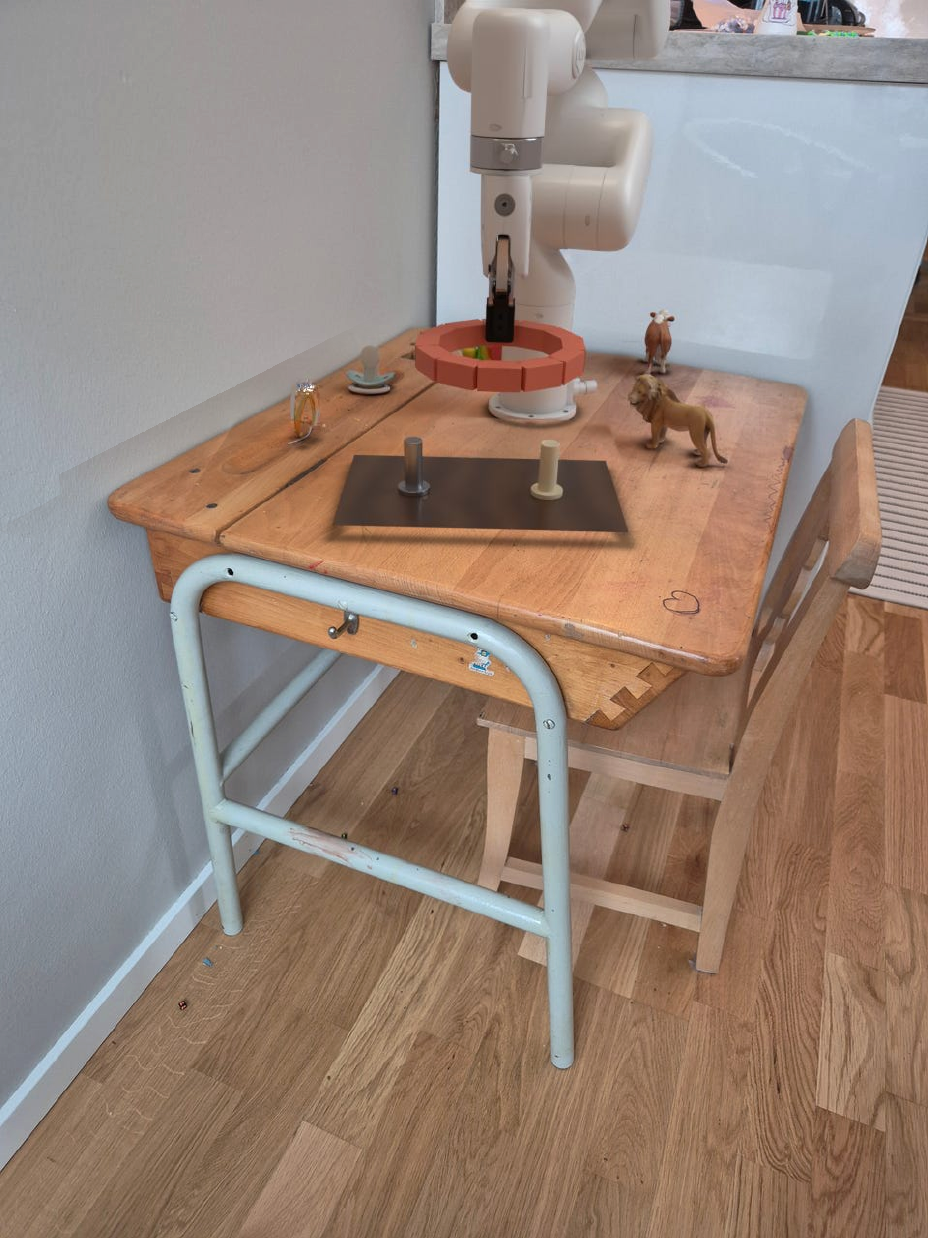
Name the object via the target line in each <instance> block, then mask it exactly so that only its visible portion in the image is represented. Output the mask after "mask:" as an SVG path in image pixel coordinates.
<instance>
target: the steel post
mask: <svg viewBox="0 0 928 1238" xmlns="http://www.w3.org/2000/svg"><path fill="white" fill-rule="evenodd" d="M423 445H424V444H423V439H422V437H418V436H408V437H406V438H404V440H403V449H404V450H403V451H404V452H403V453H404V455H403V456H404V457H405V481H402V482H400V483H399V484H398V492H399V493H400V494H402V495H404V496H408V497H420V496H424V495H426V494H428V493H429V491H430V485H429V483H428V482H426V481H423V456H424V454H423V452H424V449H423Z"/></svg>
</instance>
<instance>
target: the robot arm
mask: <svg viewBox="0 0 928 1238" xmlns="http://www.w3.org/2000/svg"><path fill="white" fill-rule="evenodd" d="M671 14H672V13H671V0H464V2H463V3H462V4H461V6H460V7H459V9H458V10H457V12H456V13H455V15H454V18H453V20H452V22H451V25H450V28H449V32H448V36H447V41H446V64H447V68H448V73H449V75H450V77H451V79H452V81H453V82H454V84H455V85H456V86H457V87H458V88H459V89H460V90H462V91H464V92H466V93H469V94H470V130H469V131H470V134H469V135H470V137H469V172H470V173H472V174H477V175H480V247H481V251H480V252H481V263H482V274H483V276H484V277H485V278H487V279H488V296H487V297H486V304H485V319H486V331H485V340H486V341H487V342H499V343H511V342H513V340H514V323H515V320H520V322H521V321H523V320H525V321H531V322H536V323H542V324H548V325H553V326H557V327H561V328H563V329H565V330H567V331H569V332H572V333H573V324H574V314H575V301H576V291H577V288H576V280H575V277H574V274H573V272H572V269H571V267H570V266H569V264H568V262H567V260H566V259H565V257H564V255H563V254H562V252H561V250H578V251H591V252H618V251H622V250H624V249H625V248H626V247H627V246H628V245H629V244H630V243H631V241H632V239H633V237H634V235H635V232H636V230H637V227H638V223H639V219H640V215H641V212H642V211H641V209H642V207H643V203H644V197H645V193H646V190H647V184H648V181H649V176H650V171H651V169H652V160H653V156H654V143H655V141H654V130H653V126H652V125H653V124H652V122H651V120H650V118H649V117H648V116H647V115H646V113H644V112H642V111H640V110H638V109H633V108H627V107H625V108H623V107H609V95H608V92H607V89H606V87H605V85H604V83H603V81H602V79H600V77H599V75H598V74H597V72H596V71H595V70H594V69H593V68H592V66H591V65H590V64H588V62H587V60H589V61H591V60H592V61H630V62H634V61H635V62H639V61H641V62H642V61H648V60H652V59H654V58H655V57H657V56H658V55H659V54H660V53H661V52H662V50H663V49H664V47H665V44H666V42H667V39H668V37H669V32H670V26H671ZM547 356H549V355H547V354H545V353H544V352H540V351H535V350H530V349H525V348H519V347H509V346H502V359H501V361H521V360H528V359H535V358H541V357H547ZM597 392H598V383H597V381H596V380H595V379H592V380H591V379H590V380H584V381H581V379H580V378H579V377H577V378H575V379H573V380H572V381H570V382H569V383H567V384H565V385H562V384H561V386H559V387H553V388H547V389H541V390H535V391H529V392H524V391H522V390H521V391H520V392H497V393H496V394H494V395H493V396H491V397H490V399H489V401H488V411H489V412H490V413H491V414H492V415H493V416H494V417H496V418H498V419H502V420H503V419H505V420H506V419H509V420H543V421H544V420H546V421H547V420H548V421H569V420H571V419H572V418H573V417H575V415H576V414H577V403H576V401H575V400H574V399H577V398H578V397H579V396H583V395H584V396H587V395H595V394H596V393H597Z"/></svg>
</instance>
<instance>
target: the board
mask: <svg viewBox="0 0 928 1238" xmlns="http://www.w3.org/2000/svg"><path fill="white" fill-rule="evenodd" d="M539 467H540V458H510V457H509V458H507V457H506V458H504V457H469V456H468V457H466V456H465V457H464V456H427V455H426V456H424V455H423V481H426V482H428V483H429V485H430V491H429V493H428V494H426V495H424V496H420V497H408V496H404V495H402V494H400V493H399V492H398V484H399V483H400V482H402V481H405V457H404V455H381V454H379V455H375V454H353V457H352V460H351V463H350V467H349V471H348V473H347V477H346V479H345V483H344V487H343V489H342V493H341V496H340V498H339V503H338V505H337V508H336V512H335V515H334V518H333V522H332V526H336V527H337V526H342V527H343V526H345V527H382V528H383V527H388V528H425V529H426V528H428V529H429V528H430V529H471V530H512V531H513V530H514V531H555V532H558V531H560V532H596V533H597V532H598V533H599V532H601V533H629V529H628V526H627V523H626V520H625V516H624V514H623V511H622V507H621V503H620V500H619V498H618V495H617V491H616V488H615V485H614V482H613V479H612V476H611V473H610V469H609V466H608V463H607V461H606V460H597V459H596V460H593V459H590V460H589V459H558V468H557V480H556V484H557V485H559V486H561V487H562V489H563V493H562V496H561V497H560V498H558V499H555V500H542V499H538V498H535V497H533V496H532V495H531V487H532V485H534V484H536V483H538V481H539Z"/></svg>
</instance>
